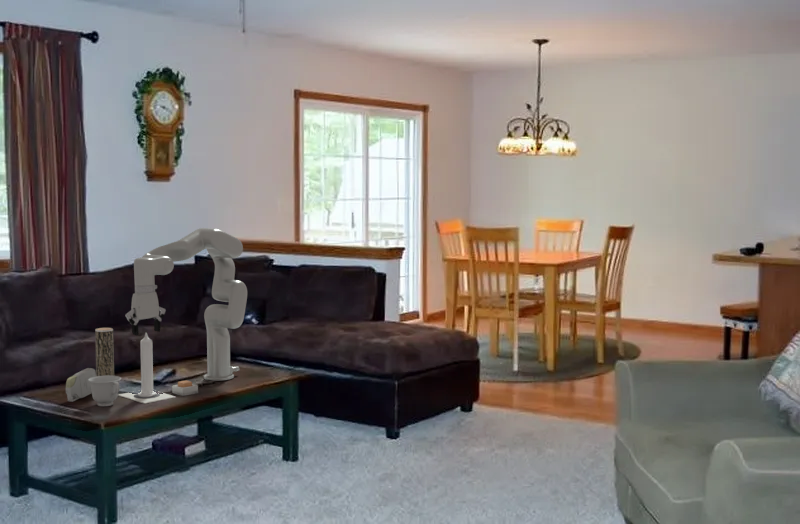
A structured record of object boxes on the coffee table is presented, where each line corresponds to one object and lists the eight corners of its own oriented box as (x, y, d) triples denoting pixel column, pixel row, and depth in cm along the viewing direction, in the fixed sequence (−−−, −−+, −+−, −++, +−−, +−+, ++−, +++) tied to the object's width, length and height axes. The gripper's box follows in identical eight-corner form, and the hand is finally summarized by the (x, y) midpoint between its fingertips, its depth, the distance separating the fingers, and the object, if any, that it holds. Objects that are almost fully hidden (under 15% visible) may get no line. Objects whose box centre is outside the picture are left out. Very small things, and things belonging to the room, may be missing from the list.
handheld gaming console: (67, 406, 376) (93, 393, 389) (72, 407, 375) (98, 393, 388) (63, 379, 373) (89, 366, 387) (69, 379, 372) (95, 367, 386)
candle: (151, 397, 380) (150, 334, 377) (134, 396, 381) (133, 333, 379) (159, 393, 387) (158, 331, 384) (143, 392, 388) (141, 330, 386)
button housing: (187, 390, 395) (187, 382, 395) (198, 392, 390) (197, 385, 390) (172, 393, 390) (172, 385, 390) (182, 395, 385) (182, 388, 385)
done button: (186, 385, 393) (186, 380, 393) (192, 386, 390) (192, 381, 390) (177, 386, 390) (177, 381, 390) (183, 388, 387) (183, 383, 387)
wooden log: (114, 388, 398) (113, 327, 395) (114, 392, 391) (112, 330, 388) (97, 389, 396) (95, 328, 393) (96, 393, 389) (94, 330, 387)
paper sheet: (149, 389, 395) (148, 388, 395) (175, 397, 382) (175, 396, 382) (117, 395, 385) (117, 394, 385) (144, 403, 372) (144, 402, 372)
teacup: (104, 411, 360) (103, 384, 359) (82, 405, 370) (81, 378, 369) (132, 405, 369) (132, 379, 368) (110, 399, 379) (109, 373, 378)
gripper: (158, 286, 389) (160, 328, 391) (119, 291, 376) (121, 335, 378) (169, 288, 383) (171, 331, 385) (130, 293, 371) (132, 337, 373)
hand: (146, 332), depth 382 cm, fingers open, 9 cm apart
